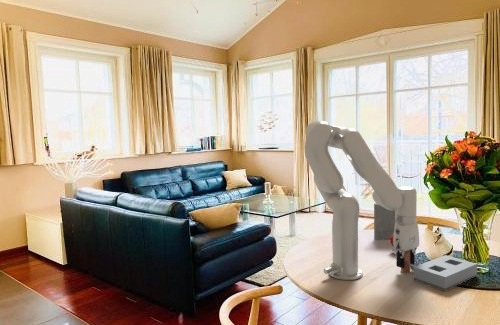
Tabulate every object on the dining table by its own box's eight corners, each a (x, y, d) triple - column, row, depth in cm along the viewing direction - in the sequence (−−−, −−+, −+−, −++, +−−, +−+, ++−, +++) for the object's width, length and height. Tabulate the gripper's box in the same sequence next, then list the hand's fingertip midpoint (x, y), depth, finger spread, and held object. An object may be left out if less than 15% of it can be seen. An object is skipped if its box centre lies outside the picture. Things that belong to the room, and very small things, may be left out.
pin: (406, 273, 149) (406, 250, 148) (399, 270, 152) (399, 248, 151) (411, 271, 151) (411, 248, 150) (404, 269, 154) (404, 246, 153)
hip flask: (404, 236, 195) (404, 196, 193) (408, 238, 191) (408, 198, 189) (373, 238, 194) (373, 198, 192) (376, 240, 190) (376, 200, 188)
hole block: (445, 291, 133) (445, 277, 132) (413, 280, 143) (413, 266, 142) (476, 277, 144) (477, 263, 143) (445, 267, 154) (445, 255, 153)
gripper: (399, 225, 142) (399, 273, 144) (428, 217, 151) (427, 263, 153) (382, 221, 148) (382, 267, 150) (411, 214, 157) (410, 257, 159)
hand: (405, 264), depth 151 cm, fingers open, 5 cm apart
